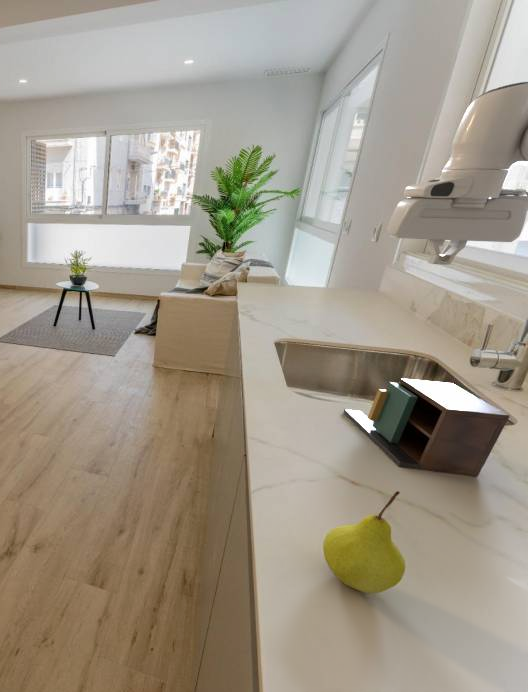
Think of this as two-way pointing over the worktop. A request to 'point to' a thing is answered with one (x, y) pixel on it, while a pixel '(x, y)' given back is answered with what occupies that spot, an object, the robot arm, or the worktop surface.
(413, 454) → the cabinet
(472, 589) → the worktop surface
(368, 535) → the fruit
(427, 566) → the worktop surface
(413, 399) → the sliding door
